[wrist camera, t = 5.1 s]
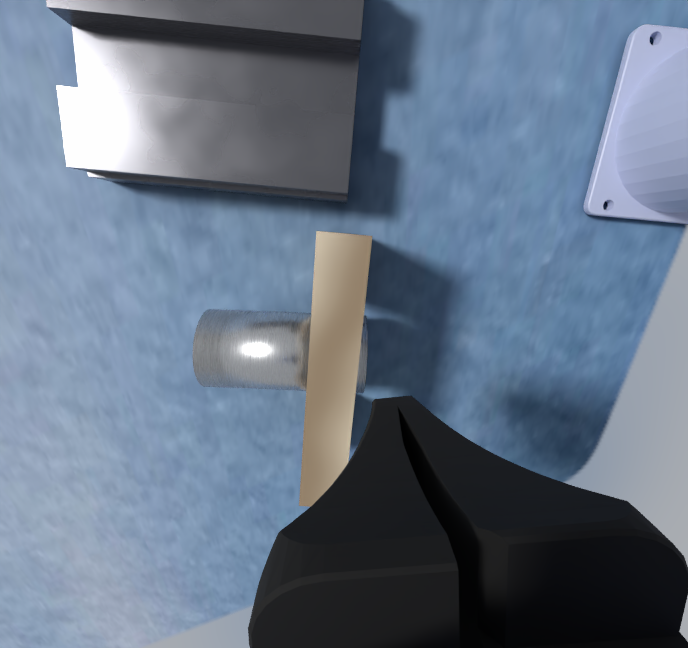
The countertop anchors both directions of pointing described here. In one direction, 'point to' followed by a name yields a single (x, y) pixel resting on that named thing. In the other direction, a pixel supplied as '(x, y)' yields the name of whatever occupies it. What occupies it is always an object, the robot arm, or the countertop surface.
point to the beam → (333, 358)
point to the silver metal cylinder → (258, 350)
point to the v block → (214, 94)
